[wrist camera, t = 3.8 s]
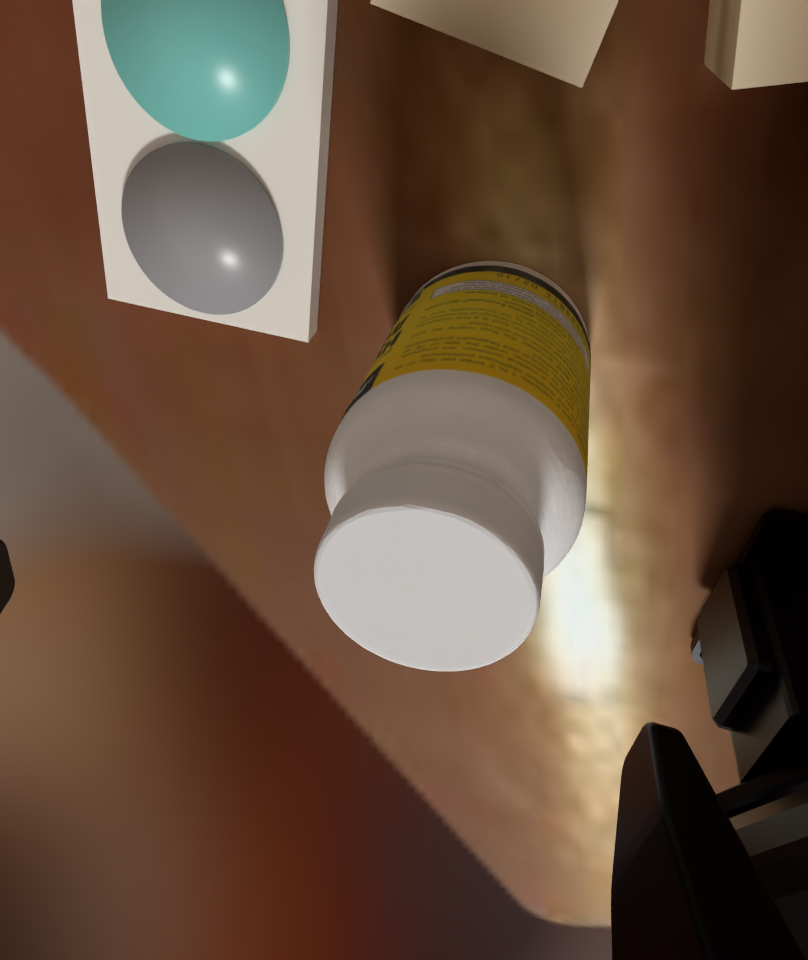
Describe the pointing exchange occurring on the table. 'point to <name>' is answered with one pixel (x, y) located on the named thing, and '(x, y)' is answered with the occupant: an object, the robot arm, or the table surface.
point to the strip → (211, 154)
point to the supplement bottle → (459, 470)
